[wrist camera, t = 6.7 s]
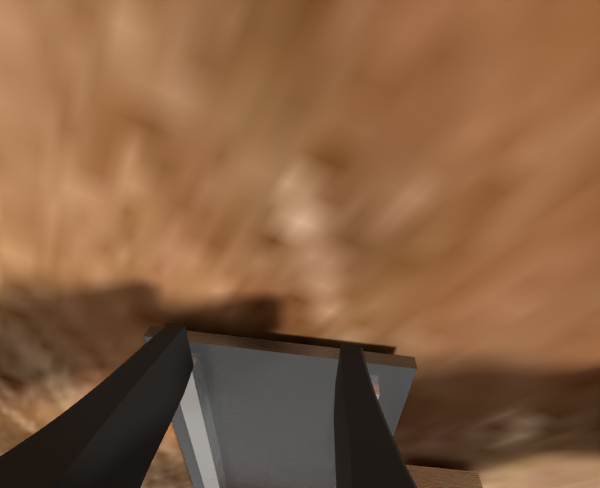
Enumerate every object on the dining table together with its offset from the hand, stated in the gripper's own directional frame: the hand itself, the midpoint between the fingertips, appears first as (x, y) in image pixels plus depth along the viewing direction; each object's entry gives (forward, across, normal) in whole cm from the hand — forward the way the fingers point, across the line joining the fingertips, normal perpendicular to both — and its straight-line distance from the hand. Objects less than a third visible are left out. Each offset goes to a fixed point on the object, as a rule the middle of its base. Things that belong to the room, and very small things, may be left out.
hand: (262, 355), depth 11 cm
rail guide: (+3, 0, +12) cm, 13 cm away
